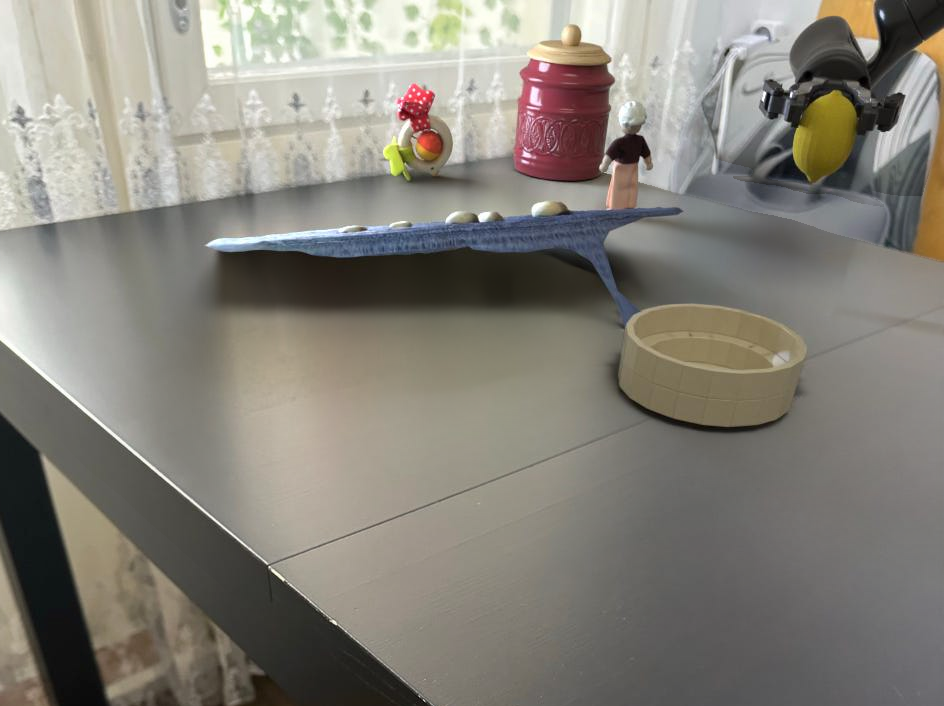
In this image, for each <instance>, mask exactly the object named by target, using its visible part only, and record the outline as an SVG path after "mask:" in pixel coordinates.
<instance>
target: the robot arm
mask: <svg viewBox="0 0 944 706" xmlns="http://www.w3.org/2000/svg"><path fill="white" fill-rule="evenodd" d="M872 13H873V19H874V22H875V25H876V26H875V27H876V31H877V39H878V43H877V47H876V50H875V52H874V53H873V55H872V56H871V57H870V58H869V59H868V60H867V59H866V58H865V54H864V53H863V51H862V48H861V47H860V44H859V42H858V39H856V37H855V34H854V32H853V30H852V27H851V25H850V24H849V22H848V21H847V20H846V18H844V17H842V16H839V15H829V16H824V17H822V18H819V19H818V20H815V21H813V22H812V23H810V24H809V25H807V27H806V28H804V29H803V31H802V32H801V33H800V34H798V36H797V38H796V39H795V40H794V42H793V44H792V46H791V48H790V51H789V55H788V63H789V66H790V68H791V72H792V74H793V75H794V78H795V79H794V84H792V85H790V87H789V88H788V89H784V88H783V82H782V83H781V82H778V81H777V80H774V79H773V78H768V79H764V81H763V86H762V90H761V93H760V95H761V96H760V100H759V103H758V104H759V105H758V109H759V110H760V111H761V113H762V114H763V116H764V117H765V118H767V119H768V120H776V119H779V115H783V121H784V122H785V123H786V122H787V123H788V124H790V128H793V129H797V128H798V126H799V122H800V119H801V117H802V115H803V114H804V112H805V110H806V109H807V108H808V106H809V105H810V104H811V103H812V102H814V101H815V100H816V99H818V98H820V97H822V96H825V95H828V94H830V93H831V92H832V91H833V90H838V91H841V93H842V96H844V97H846V98H847V99H848V100H849V101H850V102H851V103H852V105H853V106H854V108H855V111H856V115H857V131H856V136H864V137H865V136H866V133H867V132H874V130H875V127H876V126H877V127H876V130H877V131H880V133H886V132H890V131H892V129H893V128H894V127H895V126H896V125H897V124H898V122H899V119H900V116H901V113H902V109H903V106H904V103H905V99H906V96H907V95H906V94H903V92H899V91H897V93H892V94H886V95H885V99H884V100H881V99H877V95H876V92H874V91H872V89H873V88H874V87H875V86H877V84H878V83H879V82H880V81H881V80H882V78H884V76H886V74H887V73H888V72H890V71H891V70H892V69H893V68H894V67H895V66H896V65H897V64H898V63H899V62H900V61H901V60H902V59H904V58H905V57H906V56H907V55H908V54H910V53H911V52H912V51H913V50H915V49H916V48H918V47H919V46H920V45H922V44H923V43H924V42H926V41H928V40H930V39H931V38H932V37H933V36H935V35H937V34H938V33H939V32H941V31H942V30H944V0H875V1H874V3H873V6H872Z"/></svg>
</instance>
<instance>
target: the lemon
mask: <svg viewBox="0 0 944 706" xmlns="http://www.w3.org/2000/svg"><path fill="white" fill-rule="evenodd" d="M795 129H796V130H795V133H794V137H793V143H792V156H793V160H794V163H795V165H796V167H797V168H798V169H799V170H800V172H801V173H803V174H804V175H805V176H806V178H807V180H808V182H809V183H811V184H815V183H818V182H819V181H820V180H821V179H822V178H825V177H826V176H829V175H832V174H834V173H835V172H836V171H838V170H839V169H840V168H841V167H842V166H843V165H844V164H845V163H846V161H847V160H848V158H849V157H850V155H851V152H852V150H853V148H854V145H855V141H856V139H857V115H856V111H855V108H854V106H853V105H852V103H851V102H850V101H849V100H848V99H847V98H846V97H844V96H842V93H841V91H838V90H833V91H832V92H831V93H830V94H828V95H825V96H822V97H820V98H818V99H816V100H815V101H814V102H812V103H811V104H810V105H809V106H808V108H807V109H806V110H805V112H804V114H803V115H802V117H801V119H800V122H799V126H798V128H795Z"/></svg>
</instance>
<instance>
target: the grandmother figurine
mask: <svg viewBox="0 0 944 706" xmlns="http://www.w3.org/2000/svg"><path fill="white" fill-rule="evenodd" d="M618 118H619V119H618V121H619V126H620V130H621V131H622V132H623V134H624V135H623V136H621V137H618V138H615V139H614V140H613V141H612V142H611V144H610V145H609V147H608V148H607V150H606V151H605V152H604V153H605V157H604V159H603V163H602V164H601V165H600V171H601V173H607V172H608V170H609V167H610V165H611V164H612V162H614V163H613V171H612V174H611V180H610V184H609V187H608V192H607V196H606V203H605V206H606V207H607V208H606V209H605V210H612V209H615V210H616V209H617V210H622V209H632V208H633V209H634V208H637V203H638V201H637V200H638V194H639V163H640V159H641V158H642V162H643V163H644V169H645V170H646V171H651V170H653V168H654V163H653V162H652V161H653V158H652V152H651V149H650V147H649V145H648V143H647V141H646V139H645V137H644V135H641V134H638V133H639V132H640V131H641V129H642V127H643V125H644V124H646V120H647V119H648V115H647V112H646V108H645V107H644V104H643V103H642V102H640V101H636V100H631V101H628V102H626V103H625V104H623V105H622V106H621V108H620V109H619V112H618Z"/></svg>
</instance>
